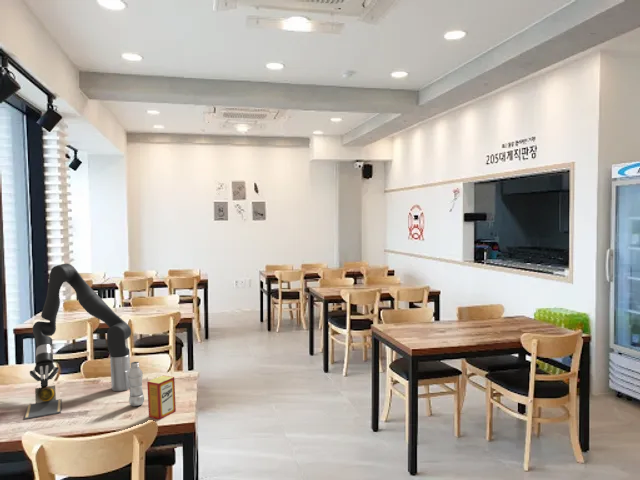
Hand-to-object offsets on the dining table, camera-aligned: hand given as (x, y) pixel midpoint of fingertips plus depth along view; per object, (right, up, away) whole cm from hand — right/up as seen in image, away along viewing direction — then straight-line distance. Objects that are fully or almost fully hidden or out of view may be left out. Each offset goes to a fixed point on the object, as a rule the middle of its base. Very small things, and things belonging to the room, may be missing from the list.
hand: (44, 387), depth 233 cm
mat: (+5, -8, -9) cm, 12 cm away
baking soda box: (+62, -7, -18) cm, 65 cm away
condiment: (0, -4, +1) cm, 4 cm away
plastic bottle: (+47, -7, -7) cm, 48 cm away
